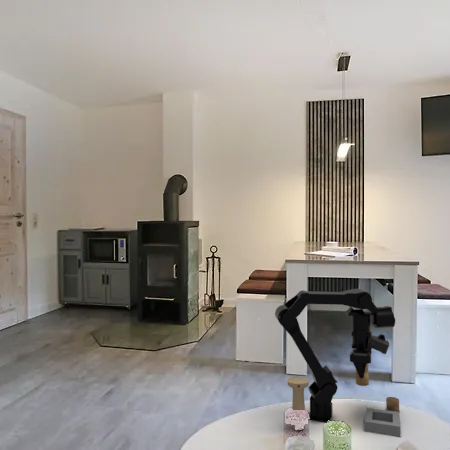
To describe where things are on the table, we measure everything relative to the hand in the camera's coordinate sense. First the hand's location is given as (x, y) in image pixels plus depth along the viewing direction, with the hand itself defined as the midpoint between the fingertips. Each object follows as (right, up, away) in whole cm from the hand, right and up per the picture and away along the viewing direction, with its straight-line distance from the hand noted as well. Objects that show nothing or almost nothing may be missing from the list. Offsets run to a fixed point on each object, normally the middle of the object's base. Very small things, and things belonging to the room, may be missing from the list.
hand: (362, 375), depth 139 cm
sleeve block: (+4, -13, -7) cm, 15 cm away
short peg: (+11, -13, +3) cm, 17 cm away
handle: (-22, -14, -8) cm, 27 cm away
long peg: (0, -3, 0) cm, 2 cm away
